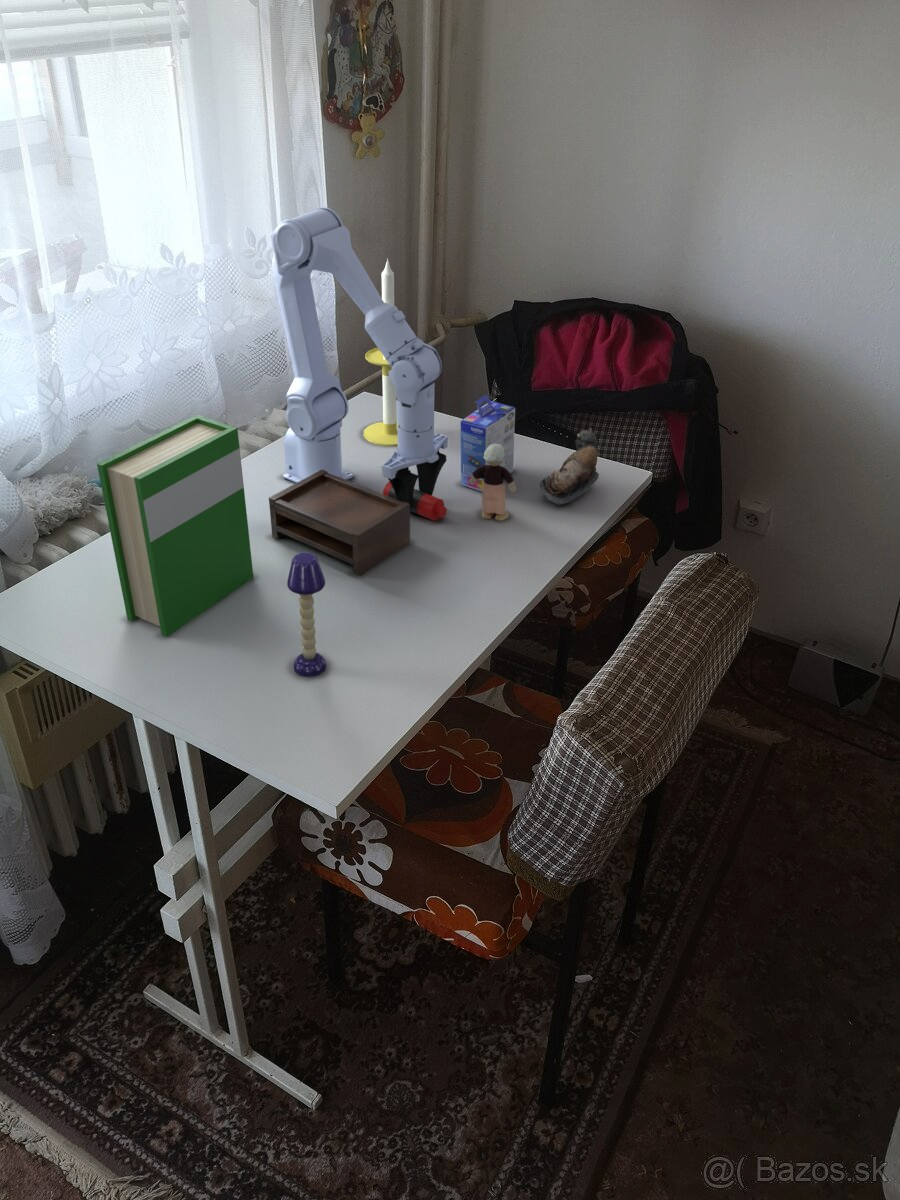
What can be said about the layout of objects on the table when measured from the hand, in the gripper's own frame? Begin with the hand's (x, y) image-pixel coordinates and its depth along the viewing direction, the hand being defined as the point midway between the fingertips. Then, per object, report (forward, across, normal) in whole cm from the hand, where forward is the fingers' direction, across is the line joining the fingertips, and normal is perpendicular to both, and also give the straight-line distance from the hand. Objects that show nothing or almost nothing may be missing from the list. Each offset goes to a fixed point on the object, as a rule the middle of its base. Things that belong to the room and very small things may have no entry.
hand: (415, 501), depth 168 cm
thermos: (+1, 0, 0) cm, 1 cm away
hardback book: (+2, -40, +9) cm, 41 cm away
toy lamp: (+2, -41, -15) cm, 44 cm away
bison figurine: (+2, +20, -17) cm, 26 cm away
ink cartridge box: (+2, +16, -3) cm, 16 cm away
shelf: (+1, -15, +3) cm, 15 cm away
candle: (+2, +19, +21) cm, 28 cm away
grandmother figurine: (+2, +6, -11) cm, 13 cm away
